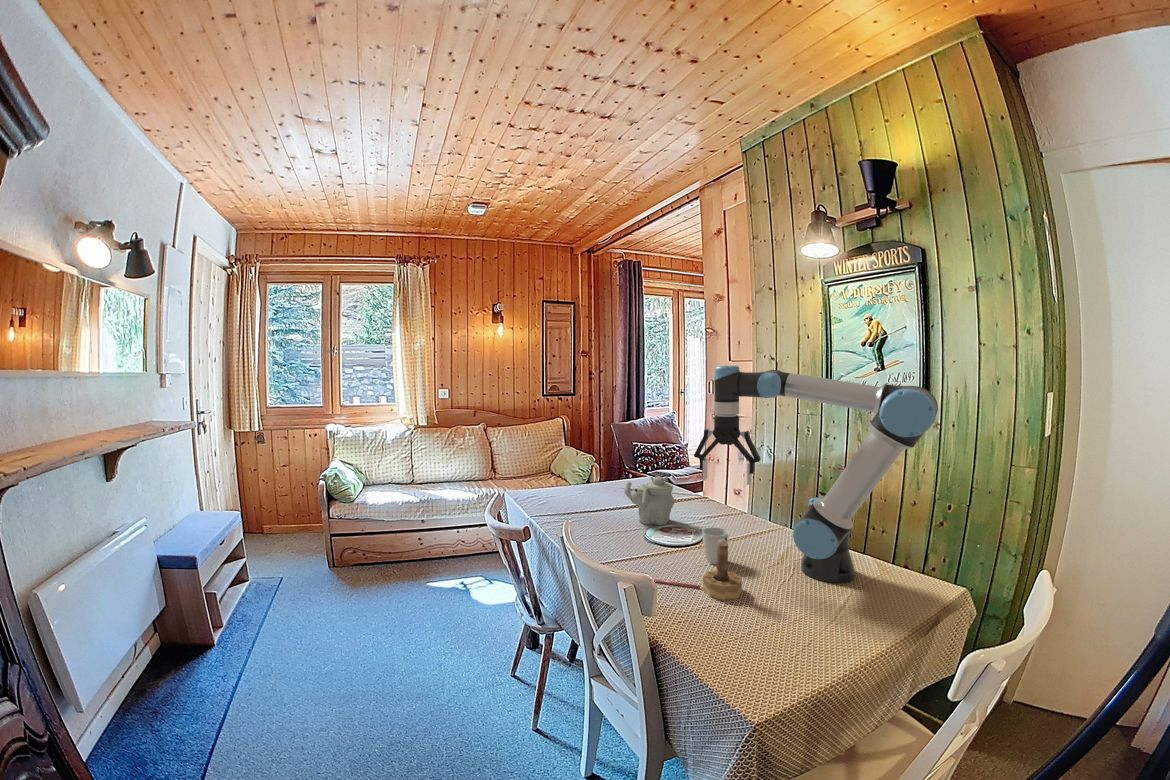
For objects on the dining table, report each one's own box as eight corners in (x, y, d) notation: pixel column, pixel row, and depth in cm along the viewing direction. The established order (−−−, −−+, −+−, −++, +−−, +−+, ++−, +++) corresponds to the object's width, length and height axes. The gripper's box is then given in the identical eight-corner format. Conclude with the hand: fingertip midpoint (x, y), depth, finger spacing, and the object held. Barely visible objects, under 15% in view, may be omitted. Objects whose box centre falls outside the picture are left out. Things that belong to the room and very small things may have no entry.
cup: (728, 567, 170) (728, 536, 169) (702, 565, 171) (702, 535, 171) (726, 557, 178) (727, 528, 177) (702, 555, 179) (702, 526, 178)
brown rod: (728, 590, 154) (729, 538, 153) (725, 594, 151) (726, 542, 150) (718, 588, 155) (718, 536, 154) (715, 592, 153) (715, 540, 151)
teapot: (623, 519, 216) (622, 474, 215) (649, 512, 226) (649, 468, 224) (651, 531, 203) (651, 482, 202) (678, 522, 212) (678, 476, 211)
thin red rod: (700, 587, 156) (700, 585, 156) (700, 589, 155) (700, 586, 155) (652, 580, 161) (652, 578, 160) (651, 582, 160) (651, 579, 160)
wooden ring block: (743, 588, 155) (744, 574, 155) (735, 602, 147) (735, 588, 146) (710, 580, 160) (710, 568, 160) (699, 594, 152) (699, 581, 151)
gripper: (770, 415, 164) (769, 482, 166) (690, 412, 175) (690, 475, 177) (766, 418, 157) (765, 488, 159) (684, 414, 169) (684, 480, 170)
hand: (726, 481), depth 168 cm, fingers open, 13 cm apart
